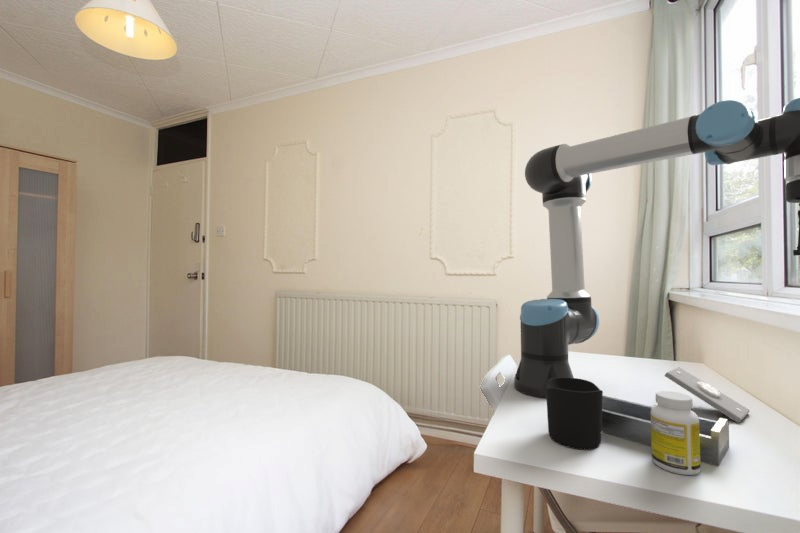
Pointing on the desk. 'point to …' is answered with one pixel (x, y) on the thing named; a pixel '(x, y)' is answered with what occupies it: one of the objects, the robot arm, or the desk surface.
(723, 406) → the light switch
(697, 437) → the pill bottle
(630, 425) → the rail
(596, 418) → the pen holder
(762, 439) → the desk surface
